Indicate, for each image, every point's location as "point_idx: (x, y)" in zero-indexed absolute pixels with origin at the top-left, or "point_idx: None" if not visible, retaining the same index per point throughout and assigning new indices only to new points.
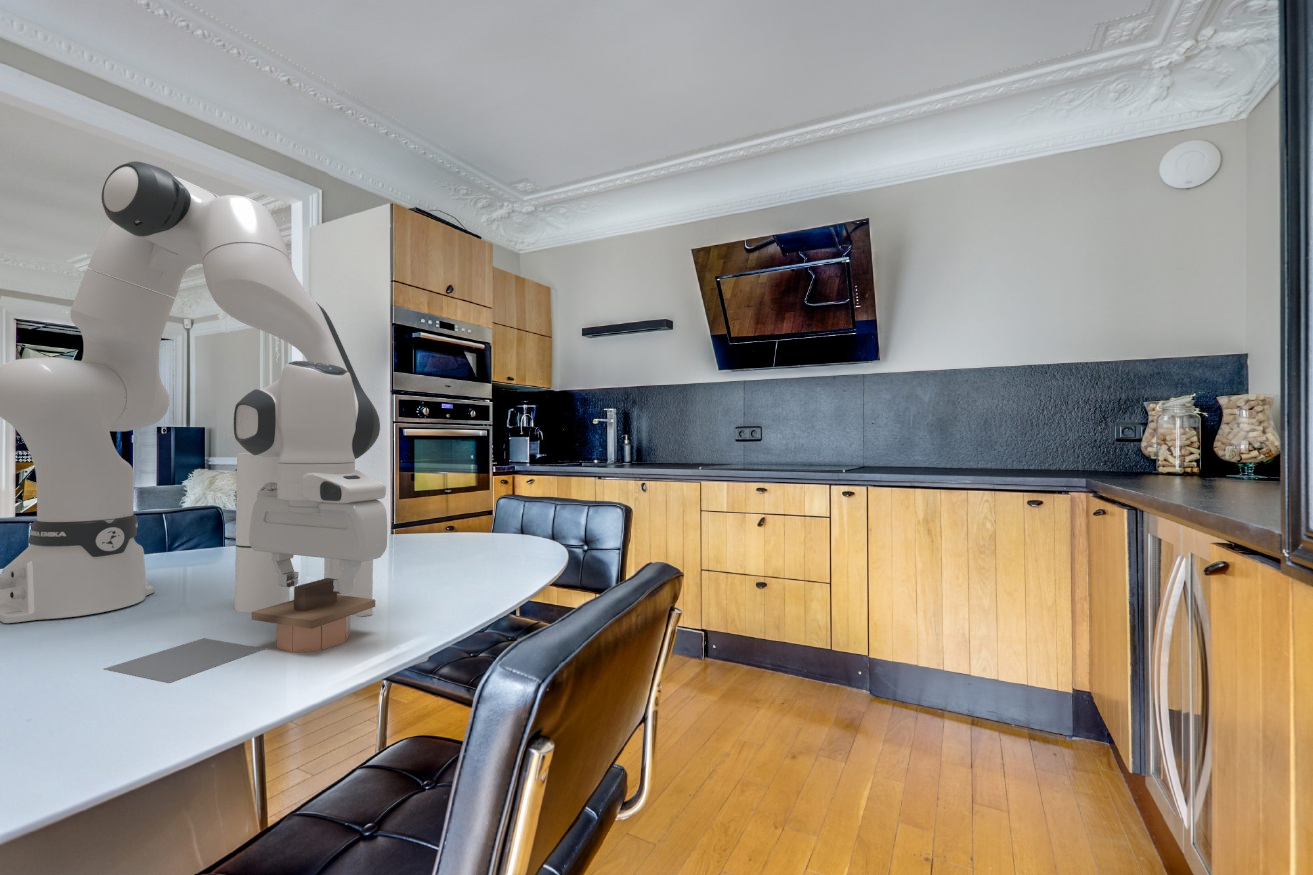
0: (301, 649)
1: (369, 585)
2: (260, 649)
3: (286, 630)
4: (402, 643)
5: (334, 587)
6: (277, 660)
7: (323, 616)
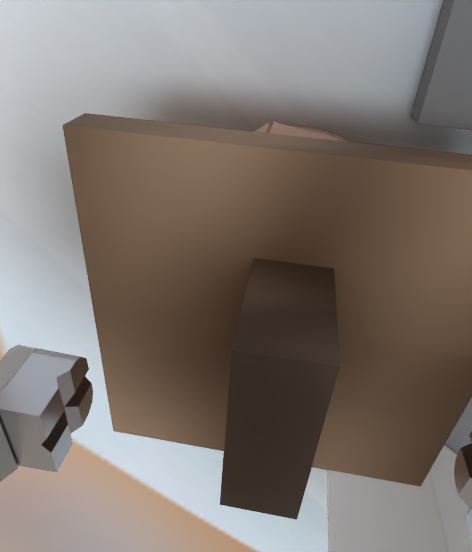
0: None
1: None
2: (434, 108)
3: None
4: (65, 311)
5: (55, 376)
6: (329, 94)
7: (82, 206)
